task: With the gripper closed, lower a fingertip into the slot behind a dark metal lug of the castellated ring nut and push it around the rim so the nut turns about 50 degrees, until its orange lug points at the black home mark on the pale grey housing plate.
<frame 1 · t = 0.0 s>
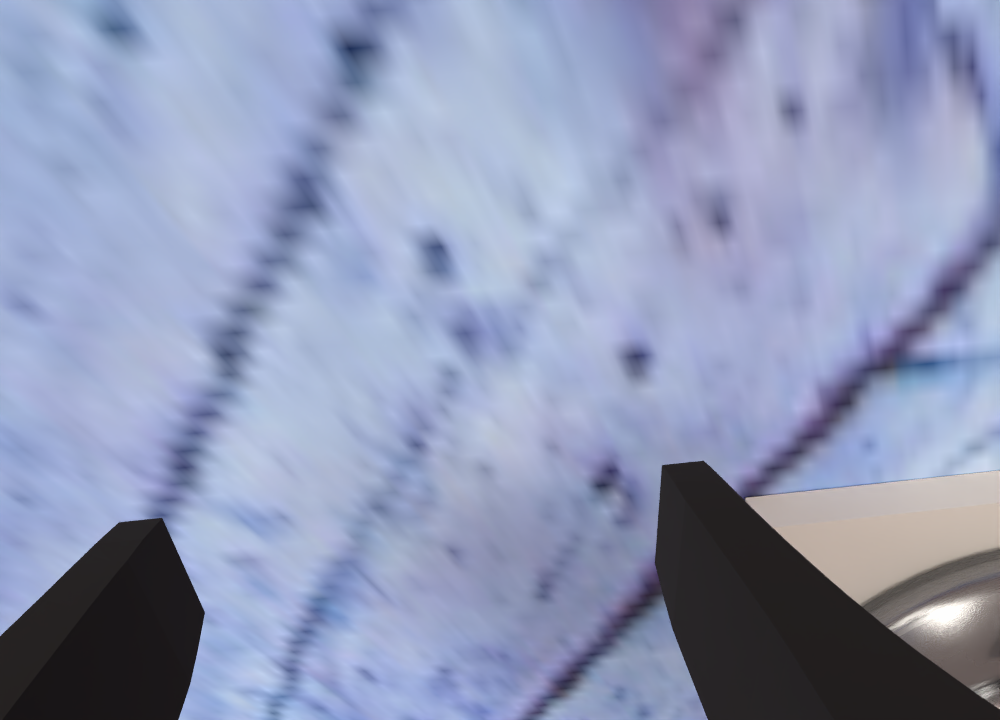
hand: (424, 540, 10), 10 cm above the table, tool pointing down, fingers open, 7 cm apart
housing plate: (943, 643, 30), on the table
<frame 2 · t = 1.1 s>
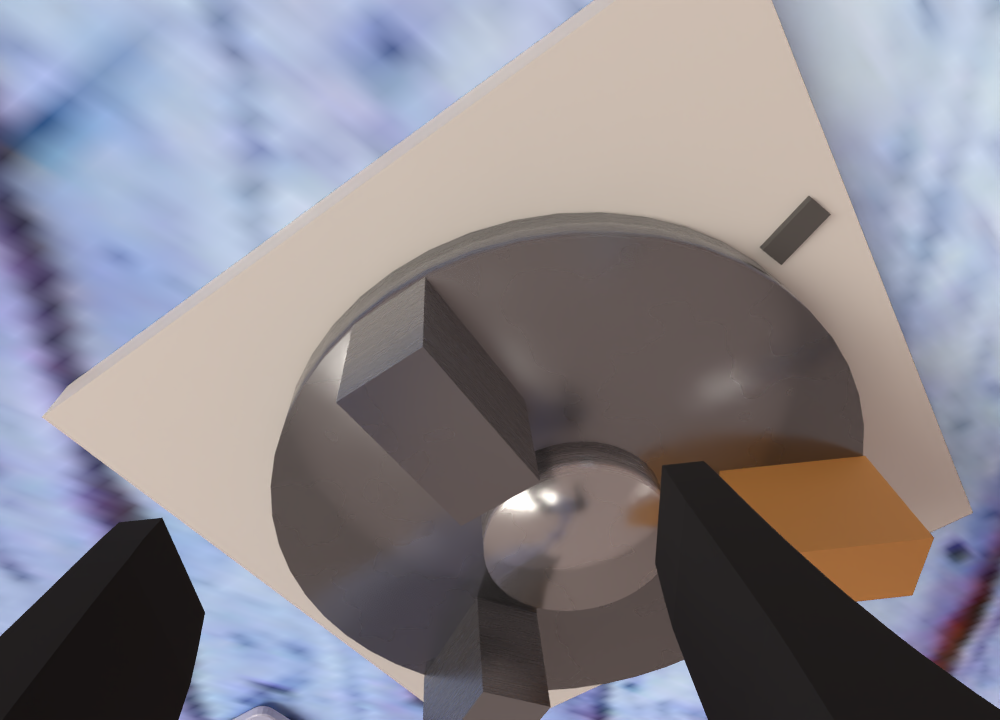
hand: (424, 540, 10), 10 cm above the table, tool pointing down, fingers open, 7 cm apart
ring nut: (576, 532, 18), point 4 cm above the table, hinge at 0.0°
housing plate: (554, 439, 22), on the table
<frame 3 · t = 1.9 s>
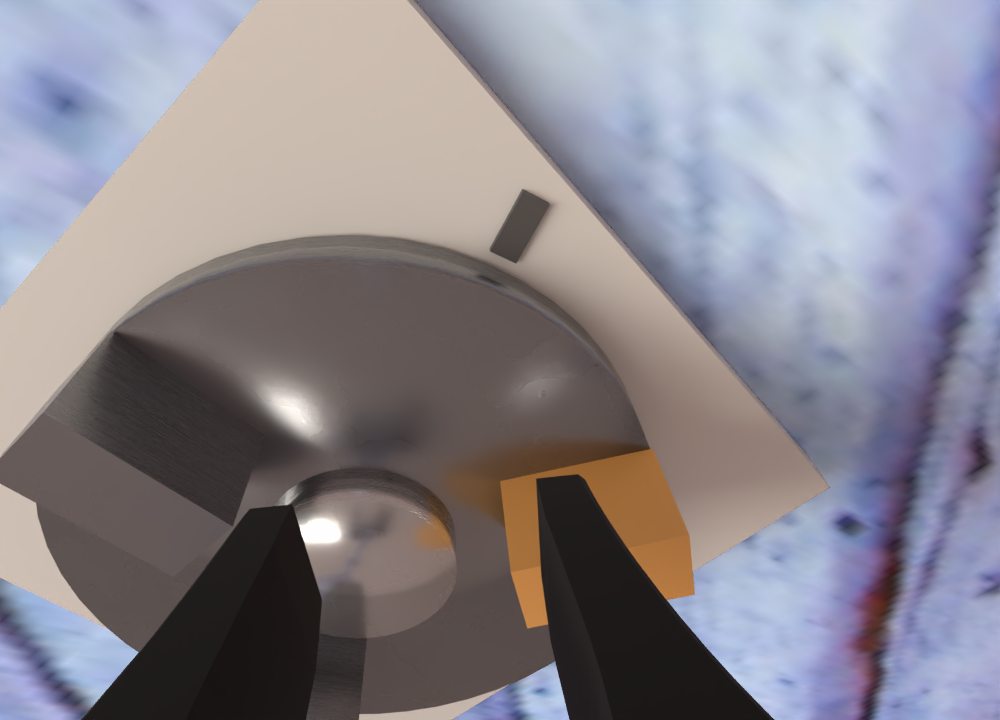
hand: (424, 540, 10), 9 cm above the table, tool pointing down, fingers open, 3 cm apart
ring nut: (359, 559, 18), point 4 cm above the table, hinge at 0.0°
housing plate: (372, 460, 21), on the table
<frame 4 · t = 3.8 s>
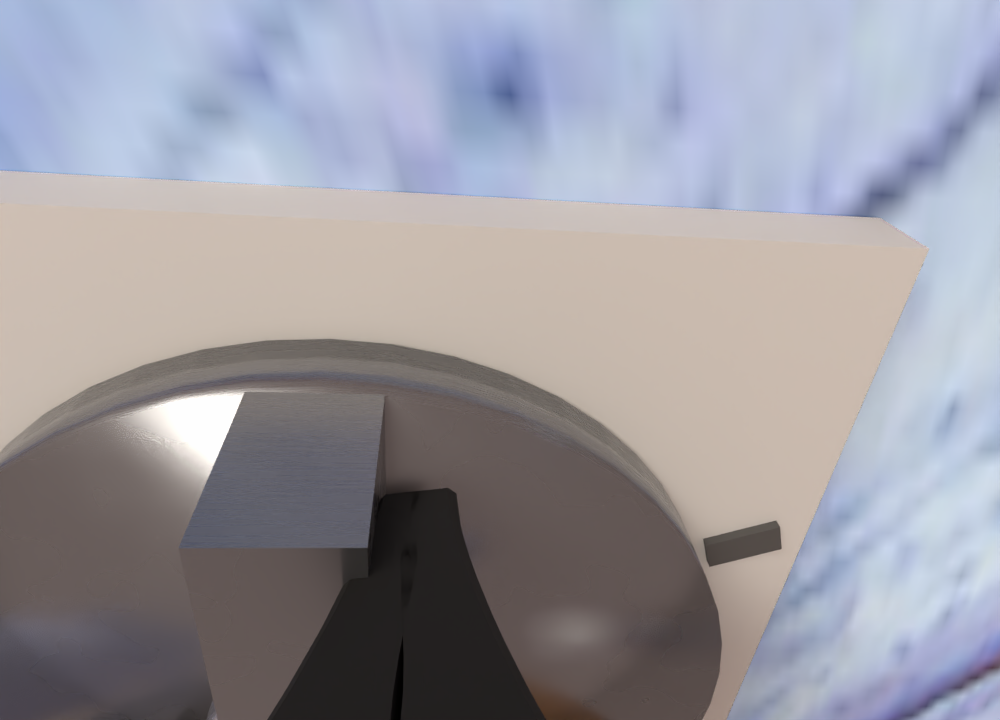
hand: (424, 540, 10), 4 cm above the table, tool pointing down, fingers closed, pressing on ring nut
housing plate: (354, 585, 17), on the table
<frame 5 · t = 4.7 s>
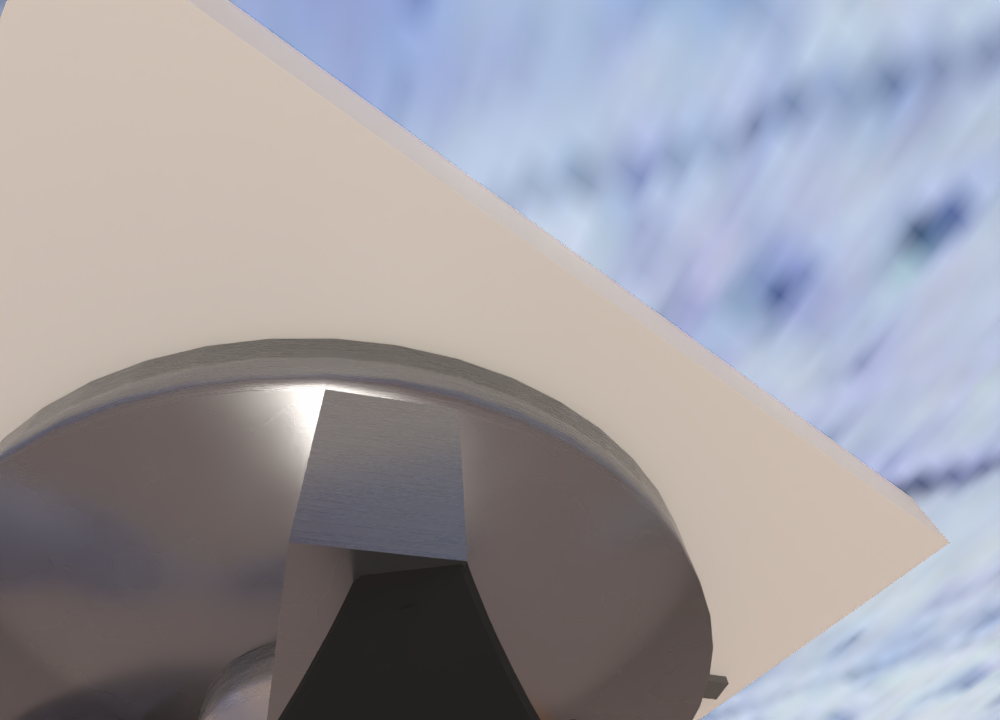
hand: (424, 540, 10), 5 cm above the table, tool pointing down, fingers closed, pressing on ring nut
housing plate: (347, 584, 17), on the table
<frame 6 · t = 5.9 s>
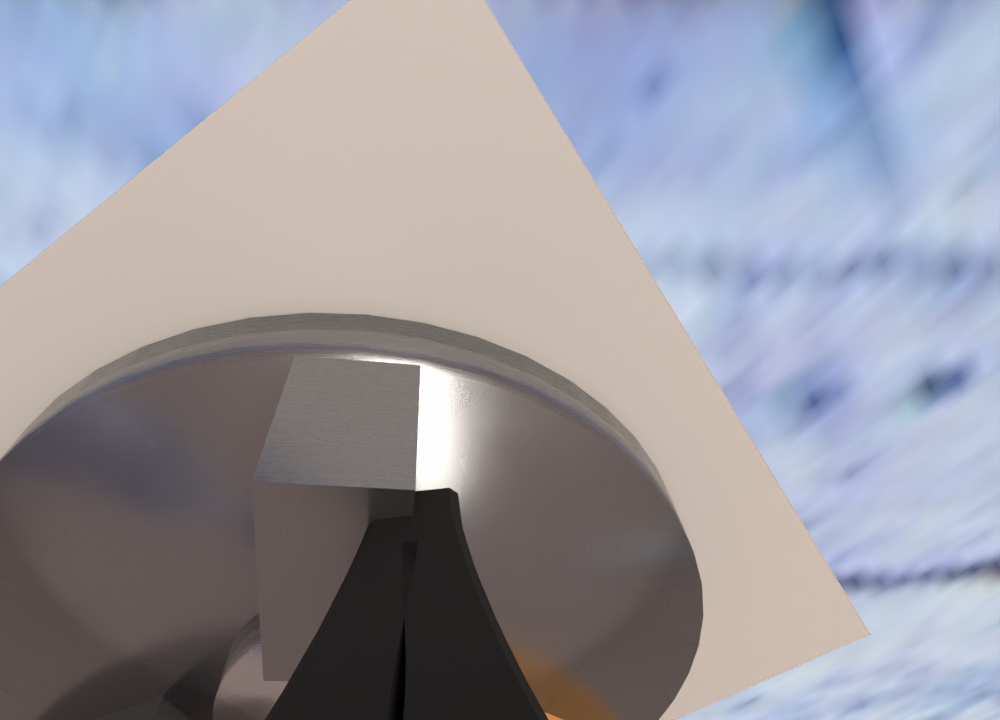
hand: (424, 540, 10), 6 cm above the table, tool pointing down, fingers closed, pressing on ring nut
ring nut: (342, 697, 15), point 4 cm above the table, hinge at 48.0°, touching gripper
housing plate: (360, 554, 18), on the table
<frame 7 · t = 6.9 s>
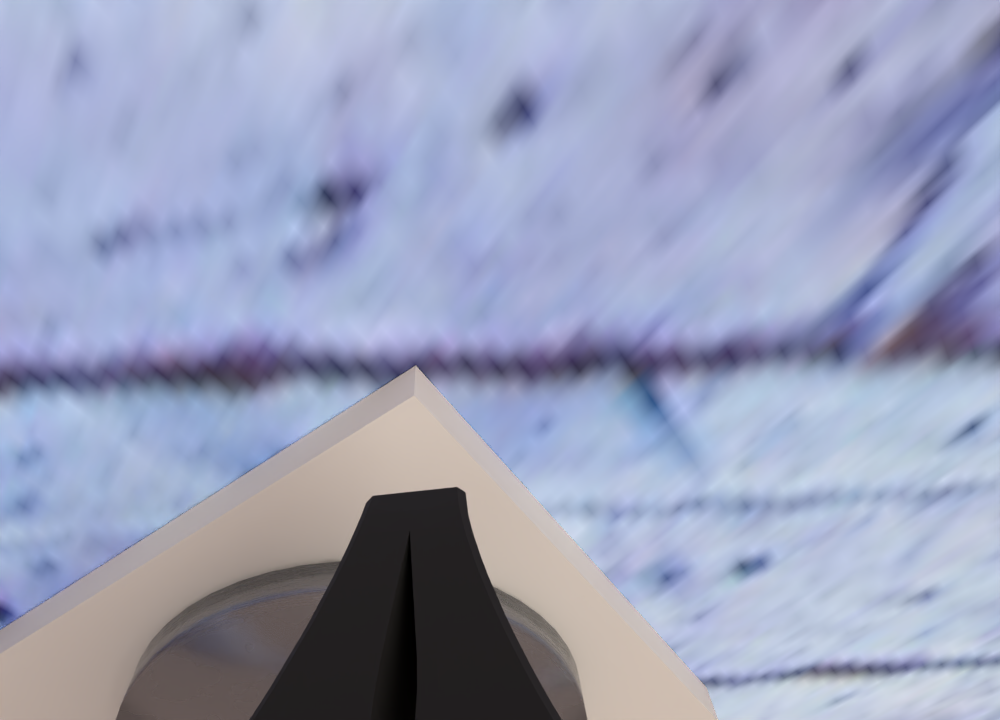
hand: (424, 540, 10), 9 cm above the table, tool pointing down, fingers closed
housing plate: (368, 671, 27), on the table
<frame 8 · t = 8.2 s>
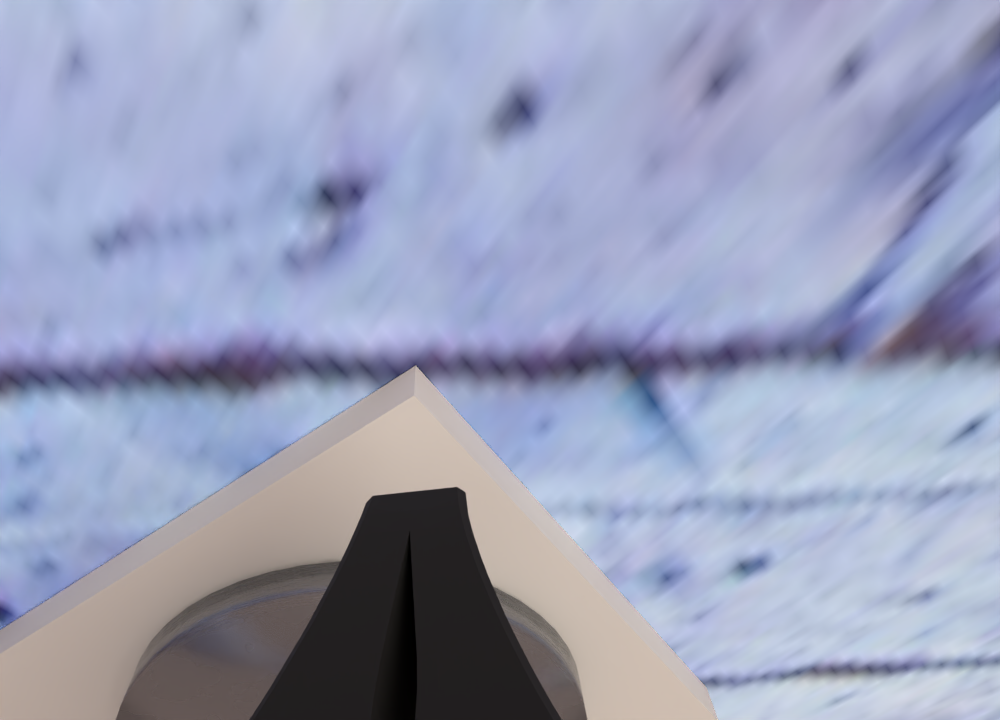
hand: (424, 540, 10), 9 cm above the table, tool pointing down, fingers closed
housing plate: (368, 671, 27), on the table
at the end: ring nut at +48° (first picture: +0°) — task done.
